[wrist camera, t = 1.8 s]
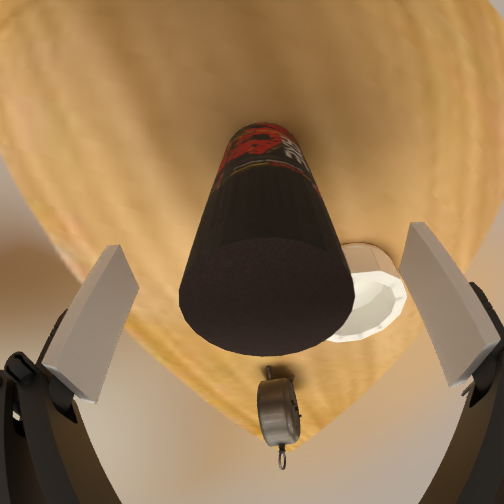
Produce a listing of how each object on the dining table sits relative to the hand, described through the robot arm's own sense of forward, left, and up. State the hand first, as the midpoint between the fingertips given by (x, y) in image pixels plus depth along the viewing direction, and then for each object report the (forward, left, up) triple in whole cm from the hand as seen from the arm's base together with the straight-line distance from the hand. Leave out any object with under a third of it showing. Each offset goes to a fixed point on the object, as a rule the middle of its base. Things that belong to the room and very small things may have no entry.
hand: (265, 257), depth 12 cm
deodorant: (0, 0, -12) cm, 12 cm away
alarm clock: (+35, 0, -12) cm, 37 cm away
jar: (+14, +8, -12) cm, 20 cm away
